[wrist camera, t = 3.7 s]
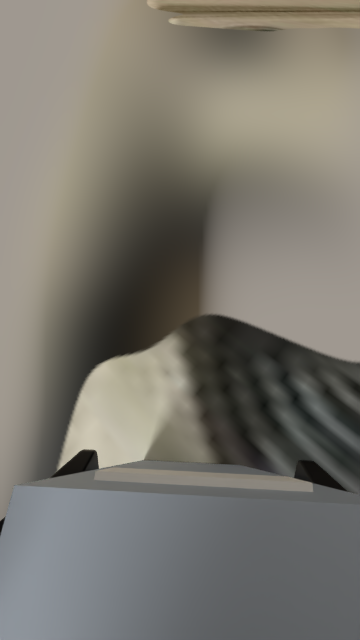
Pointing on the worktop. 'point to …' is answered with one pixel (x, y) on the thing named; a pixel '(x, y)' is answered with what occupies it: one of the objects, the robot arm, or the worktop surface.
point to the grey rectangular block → (180, 556)
